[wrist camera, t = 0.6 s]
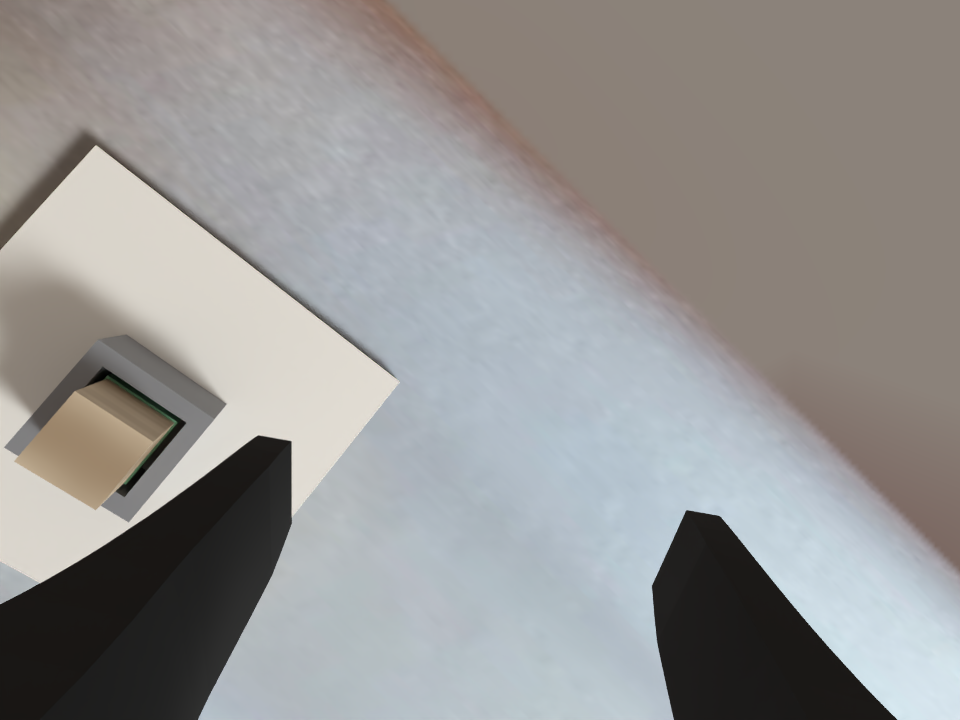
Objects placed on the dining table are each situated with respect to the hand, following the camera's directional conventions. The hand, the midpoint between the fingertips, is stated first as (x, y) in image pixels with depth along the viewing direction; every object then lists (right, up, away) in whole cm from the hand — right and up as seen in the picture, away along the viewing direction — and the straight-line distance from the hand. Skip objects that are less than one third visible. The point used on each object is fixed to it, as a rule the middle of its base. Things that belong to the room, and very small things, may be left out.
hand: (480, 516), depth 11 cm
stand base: (-17, 0, +19) cm, 25 cm away
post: (-17, 0, +18) cm, 24 cm away
